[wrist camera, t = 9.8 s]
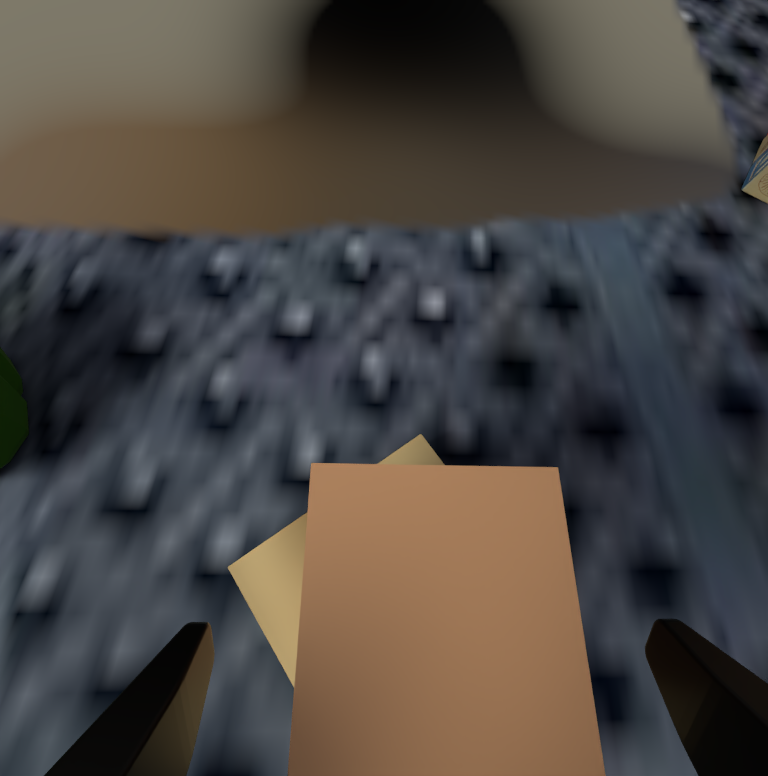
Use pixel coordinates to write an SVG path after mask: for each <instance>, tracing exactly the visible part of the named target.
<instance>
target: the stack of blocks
mask: <svg viewBox="0 0 768 776" xmlns="http://www.w3.org/2000/svg"><path fill="white" fill-rule="evenodd" d="M741 190H742V191H744V192H746V193H748V194H750V195H752V196H754V197H756V198H758V199H760V200H762V201H764V202H766V203H768V134H767V136H766V137H765V138H764V140H763V141H762V143H761V146H760V148H759V150H758V152H757V154H756V156H755V159H754V161H753V165H752V167H751V168H750V170H749V173H748V175H747V177H746V179H745V182H744V184H743V186H742V189H741Z"/></svg>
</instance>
